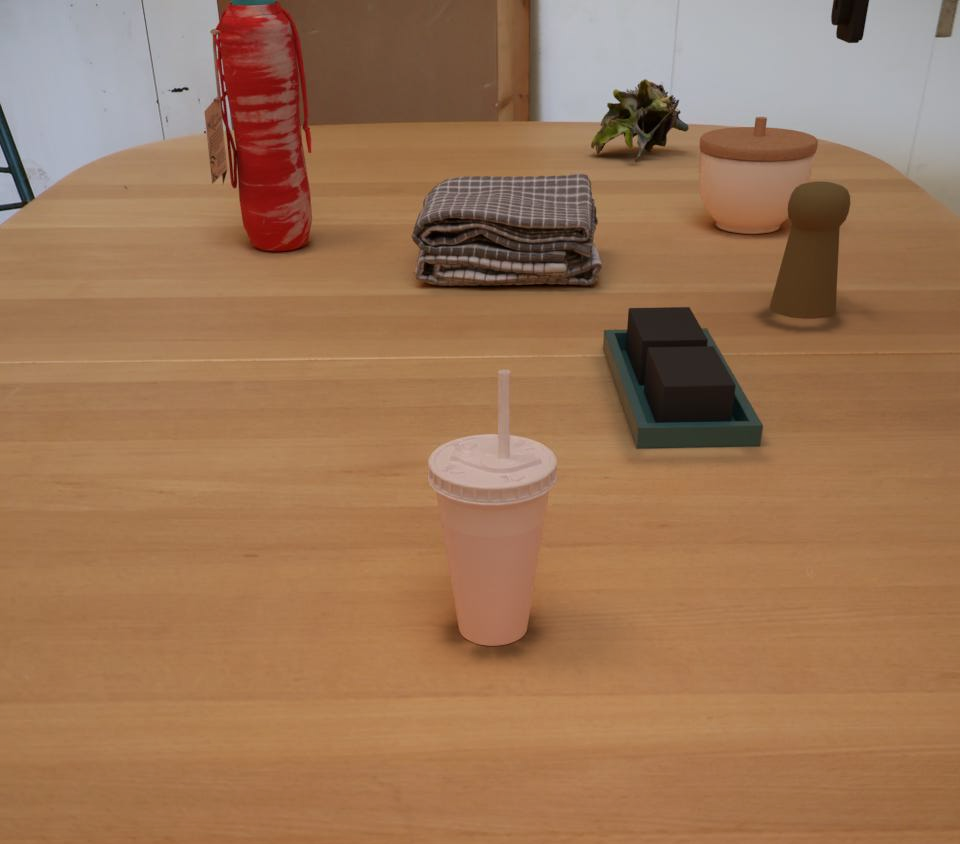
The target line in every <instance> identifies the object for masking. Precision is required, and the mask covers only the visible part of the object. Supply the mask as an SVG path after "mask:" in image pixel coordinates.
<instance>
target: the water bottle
mask: <svg viewBox="0 0 960 844" xmlns="http://www.w3.org/2000/svg"><path fill="white" fill-rule="evenodd" d="M230 1H231V2H230V3H228V4H227V5H226V9H224V10H223V11H222V13H221V15H220V20H219V22H218V24H217V25H216V27H215V28H213V29H211V30H210V32H209V33H210V34H212V36H211V37H212V52H213V53H212V54H213V63H214V65H213V66H214V75H215V84H216V85H215V86H216V93H217V96H216V97H215V98H213V101H212V102H211V103H209V105H208V106H207V108H206V109H205V110H204V113H203V114H204V120H205V130H206V131H205V132H206V140H207V146H208V147H207V148H208V157H209V166H210V177H211V184H212V185H213V184H214V183H216V181H217V180H218V179H220V177H221V178H222V179H221V180H222V185H224V183H225V180H226V176H227V172H228V166H229V177H230V184H231V187H232V189H235V190H236V189H237V187H238V197H239V200H238V201H239V206H240V213H241V219H242V226H243V227H244V230H245V233H246V234H247V236H248V239H249V241H250V243H251V244H252V245H253V246H254V248H255V247H256V248H257V249H259V250H261V251H263V252H264V251H265V252H272V253H276V252H289V251H294V250H298V249H300V248H302V247H304V246H305V245H307V243H308V241H309V238H310V237H309V236H310V232H311V227H312V225H313V212H312V198H311V189H310V183H309V176H308V171H307V170H308V169H307V163H306V159H305V157H306V156H305V151H304V145H303V135H302V130H303V131H304V133H305V134H304V135H305V141H306V147H307V152H308V154H311V153H312V135H311V128H310V127H309V123H308V120H309V119H308V118H309V109H308V107H309V106H308V95H307V83H306V82H307V80H306V74H305V67H304V60H303V59H304V58H303V52H302V44H301V39H300V36H299V33H298V29H297V26H296V23H295V21H294V18H293V17H292V16H291V14H290V13H289V12H288V11H287V10H286V9H284V8H283V7H282V5H281V3H280V2H279V1H276V0H230ZM300 88H301V89H300ZM300 90H301V93H300ZM300 94H301V95H300ZM300 96H301V97H302V107H303V123H302V124H301V103H300V102H301V101H300V100H301V99H300V98H301V97H300ZM226 97H227V99H226ZM227 102H228V106H229V112H230V116H231V120H232V127H233V134H234V138H233V135H232V132H231V129H230V126H229V118H228V117H229V116H228V108H227ZM224 127H225V132H224ZM225 135H226V142H225ZM226 144H227V150H226ZM232 153H233V154H232ZM227 155H228V159H227ZM232 156H233V157H232ZM228 164H229V165H228Z"/></svg>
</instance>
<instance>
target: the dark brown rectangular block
mask: <svg viewBox="0 0 960 844" xmlns="http://www.w3.org/2000/svg"><path fill="white" fill-rule="evenodd" d="M702 328H703V327H701V325H700V323H699V322H698V320H697V318H696V316H695V314H694V312H693V310H692V309H691V307H690V306H677V307H676V306H669V307H666V306H665V307H628V313H627V327H626V330H627V339H626V352H627V354H628V357H629V360H630V362H631V365H632V368H633V370H634V373H635V375H636V378H637V381H638V383H639V385H644V383H645V371H646V358H647V348H648V347H700V346H707V343H708V339H707V337H706V336H705V334H704V332H703V330H702Z"/></svg>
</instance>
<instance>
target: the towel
mask: <svg viewBox="0 0 960 844" xmlns="http://www.w3.org/2000/svg"><path fill="white" fill-rule="evenodd" d="M598 222H599V220H598V217H597V206H595V199H594V198H593V193H592V182H591V180H590V178H589V176H588V174H585V173H575V174H565V175H546V176H545V175H538V176H521V175H520V176H511V175H510V176H507V175H506V176H504V175H503V176H489V175H484V176H481V175H479V176H478V175H477V176H469V175H468V176H465V175H464V176H454V177H448V178H445V179H444V180H443V181H441V182H439V183H438V184H436V185H435V186H433V187H432V189H430V191H429V192H428V193H427V194H426V196H425V197H424V199H423V201H422V209H421V210H420V211H419V213H418V216H417V218H416V221H415V223H414V227H413V230H412V234H410V237H411V239H412V242H414V244H415V245H416V246H417V248H419V249H418V253H417V257H416V263H415V269H414V270H415V271H414V276H415V279H416V281H420V282H423V283H427V284H429V285H430V284H431V285H437V286H449V287H451V286H460V287H461V286H472V287H473V286H475V287H476V286H479V285H480V286H481V285H482V286H501V285H502V286H512V285H515V286H523V285H526V286H527V285H543V284H547V285H556V284H557V285H580V286H590V285H594V284H595V283H596V282H597V281H598V278H599V276H600V273H601V271H602V269H603V264H602V261H601V256H600V254H599V251H598V249H597V245H596V243H595V242H594V238H595V236H594V235H595V231H596V229H597V226H598V224H599V223H598Z"/></svg>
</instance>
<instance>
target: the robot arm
mask: <svg viewBox="0 0 960 844" xmlns="http://www.w3.org/2000/svg"><path fill="white" fill-rule="evenodd" d="M869 3H870V0H833V1H832V7H831V14H830V21H831V25H833V26H836V31H835V33H836V34H835V36H836V39H837V40H840V41H843V42H845V43H847V44H858V43H859V42H860V41H862V40H863V38H864V33H865V27H866V23H867V15H868V11H869Z"/></svg>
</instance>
